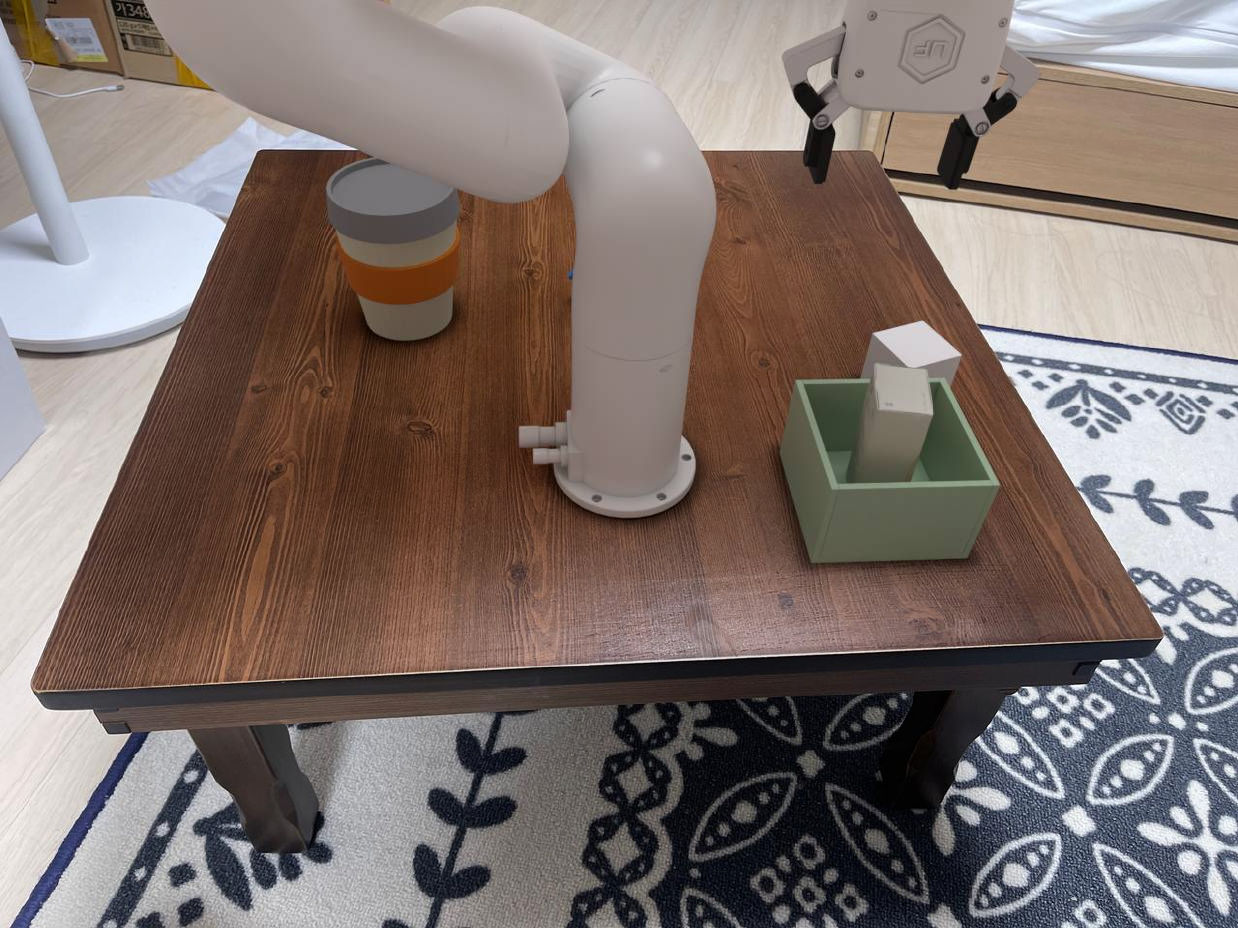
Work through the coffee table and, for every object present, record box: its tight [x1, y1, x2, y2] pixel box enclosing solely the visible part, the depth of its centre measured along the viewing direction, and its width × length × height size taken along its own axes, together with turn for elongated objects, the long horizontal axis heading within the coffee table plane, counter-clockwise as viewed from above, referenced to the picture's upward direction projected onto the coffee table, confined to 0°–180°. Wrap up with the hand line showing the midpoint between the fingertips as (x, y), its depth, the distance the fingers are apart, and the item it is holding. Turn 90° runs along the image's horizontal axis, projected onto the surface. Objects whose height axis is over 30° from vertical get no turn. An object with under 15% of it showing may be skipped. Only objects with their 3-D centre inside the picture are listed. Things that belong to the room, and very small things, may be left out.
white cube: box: [859, 320, 963, 388], centre depth 91 cm, size 6×6×6 cm
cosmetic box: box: [846, 363, 933, 484], centre depth 77 cm, size 6×4×12 cm
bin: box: [779, 378, 1001, 564], centre depth 78 cm, size 13×13×9 cm
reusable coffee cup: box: [325, 156, 461, 342], centre depth 94 cm, size 13×13×15 cm
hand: (881, 178), depth 68 cm, fingers open, 9 cm apart
